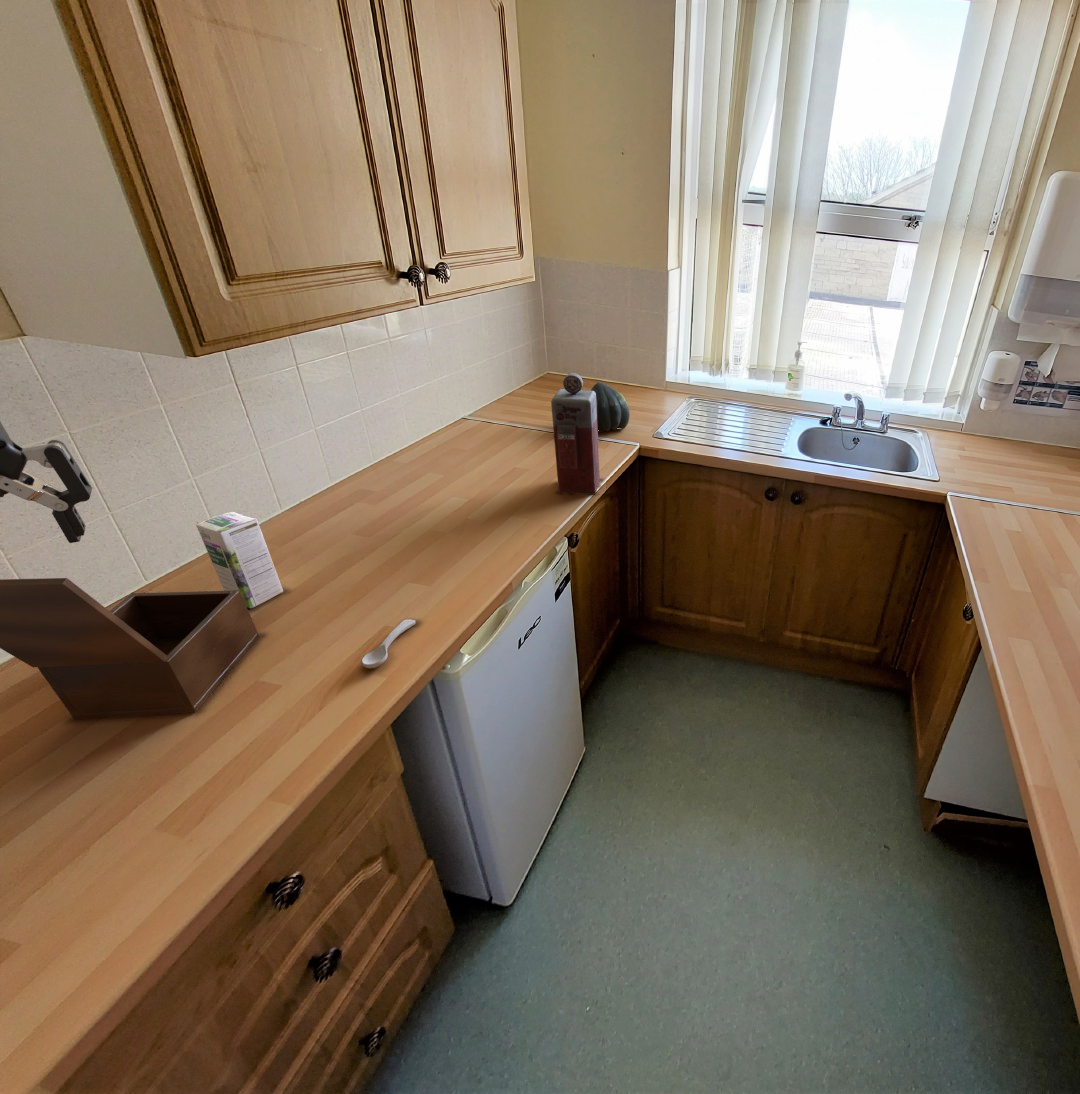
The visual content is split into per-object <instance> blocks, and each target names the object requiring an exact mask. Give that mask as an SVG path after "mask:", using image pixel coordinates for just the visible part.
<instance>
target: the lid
mask: <svg viewBox="0 0 1080 1094" xmlns="http://www.w3.org/2000/svg"><path fill="white" fill-rule="evenodd" d="M0 650H3V651H4V652H6V653H7V654H9V655H11V656H12V657H14V658H16V659H17V660H19V661H21V662H23V663H24V664H26V665H28V666H30V667H31V668H38V667H54V666H76V665H98V664H120V663H142V662H164V661H165V660H166V658H167V655H165V654H164V653H163V652H162V651H160V650H159V649H158V648H156V647H155V646H154V645H153V644H151V643H150V642H149V641H147V640H146V639H145V638H144V637H142V636H141V635H140V634H138V633H137V632H136V631H135V630H133V629H132V628H131V627H129V626H128V625H127V624H126V623H124V622H123V621H122V620H120V619H119V618H118V617H117V616H115V615H114V614H113V613H111V612H110V610H109V609H107V608H106V607H105V606H104V605H103V604H102V603H100V602H99V601H97V599H95V598H94V597H92V596H91V595H90V594H88V593H87V592H86V591H84V590H83V589H82V588H81V587H79V586H78V585H77V584H76V583H75V582H73V581H72V580H70V579H69V578H68V577H51V578H49V577H47V578H8V579H7V578H6V579H5V578H3V579H0Z"/></svg>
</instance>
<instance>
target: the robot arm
mask: <svg viewBox="0 0 1080 1094" xmlns="http://www.w3.org/2000/svg"><path fill="white" fill-rule="evenodd" d="M9 435H10V434H9V433H8V432H7V430H6V428H5V427H4V425H3V423H2V421H0V498H4V496H5V495H7V494H9V493H10V494H12V495H14V496H16V497H18V498H21V499H23V500H26V501H29V502H31V501H32V502H34V503H37V504H39V505H42V506H43V507H46V508H49V509H51V510H52V512H51V515H52V516H53V518H54V520H55V521H56V523H57V525H58V527H59V528H60V530H61V532H62V533H63V535H64V537H65V538H66V540H67V541H68V543H69V544H73V543H79V542H81V538H82V537H83V536H85V532H86V524H85V522H84V520H83V518H82V517H81V514H80V513H79V511H78V509H77V508H76V506H75V505H77V504H79V503H84V502H87V501H89V500H90V499H91V496H92V491H93V487H92V485H91V483H90V481H89V480H88V479H87V477H86V476H85V474H84V472H83V471H82V470H81V468H80V466H79V465H78V462H77V461H76V460H75V459H74V457H73V455H72V453H71V452H70V451H69V449H68V447H67V445H66V444H65V443H64V442H63V441H61V440H58V439H52V440H49V441H48V442H47V443H46V444H43V445H37V446H31V447H30V446H29V447H21V446H20V445H18V444H16V443H15V442H14V441H13V440H12V439H11V437H10V436H9ZM28 461H36V462H38V463H39V464H40V465H41V466H42V467H44V468H48V469H53V470H54V471H55V473H56V474H57V476H58V477H59V479H60V480H61V482H62V484H63V485H64V486H65V488H66V489H65V490H62V489H59V488H57V487H55V486H53V485H51V484H48V483H47V482H46V481H45V480H43V479H42V478H41V477H39V476H37V475H33V474H32V473H30V472H27V471H25V467H26V465H27V463H28Z"/></svg>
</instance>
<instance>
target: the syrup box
mask: <svg viewBox="0 0 1080 1094" xmlns="http://www.w3.org/2000/svg"><path fill="white" fill-rule="evenodd" d="M259 524H260V523H259V522H258V519H257V518H256V517H250V516H248V515H245V514H241V513H238V512H235V511H230V512H225V513H222V514H219V515H216V516H212V517H210V518H208V519H205V520H203V521H201V522H199V523H197V524H196V525H195V526H196V528H197V531H198V533H199V535H200V538H201V540H202V542H203V545H204V548H205V549H206V552H207V554H208V557H209V560H210V561H211V564H212V566H213V569H214V571H215V574H216V577H217V578H218V580H219V582H220V585H221V587H222V591H233V590H239V591H240V593H241V595H242V598H243V600H244V602H245V604H246V607H247V609H253V608H255V607H257V606H259V605H261V604H263V603H265V602H267V601H269V600H271V599H272V598H275V597H276V596H278V595H280V594H282V593H283V592H284V588H283V585H282V584H281V581H280V578H279V575H278V572H277V570H276V567H275V565H274V562H273V559H272V557H271V554H270V551H269V548H268V546H267V543H266V540H265V537H264V535H263V532H262V529H261V527H260V525H259Z"/></svg>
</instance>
